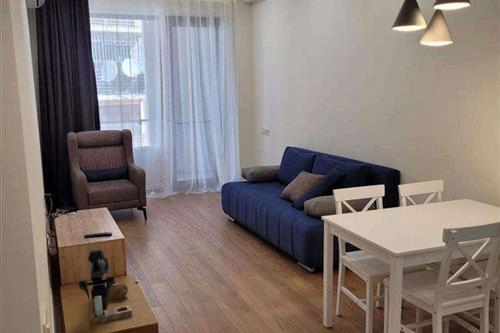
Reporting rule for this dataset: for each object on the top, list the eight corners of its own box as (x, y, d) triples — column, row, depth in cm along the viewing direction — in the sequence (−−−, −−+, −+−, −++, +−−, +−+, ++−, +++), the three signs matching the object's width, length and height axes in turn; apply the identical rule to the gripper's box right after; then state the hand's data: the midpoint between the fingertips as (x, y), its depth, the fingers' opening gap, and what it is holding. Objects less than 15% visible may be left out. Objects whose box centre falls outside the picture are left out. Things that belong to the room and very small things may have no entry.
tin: (102, 299, 274) (100, 286, 273) (103, 297, 277) (102, 284, 276) (127, 297, 275) (126, 284, 274) (128, 295, 278) (127, 282, 277)
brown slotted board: (91, 324, 243) (90, 318, 243) (90, 318, 250) (90, 313, 249) (132, 315, 251) (131, 310, 250) (130, 310, 257) (130, 304, 257)
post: (97, 318, 250) (94, 296, 248) (104, 317, 250) (101, 295, 248) (96, 321, 246) (93, 298, 244) (103, 321, 247) (100, 298, 245)
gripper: (76, 267, 248) (77, 294, 239) (112, 261, 253) (114, 288, 244) (79, 275, 257) (80, 302, 248) (114, 270, 262) (116, 296, 253)
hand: (97, 297), depth 248 cm, fingers open, 9 cm apart
